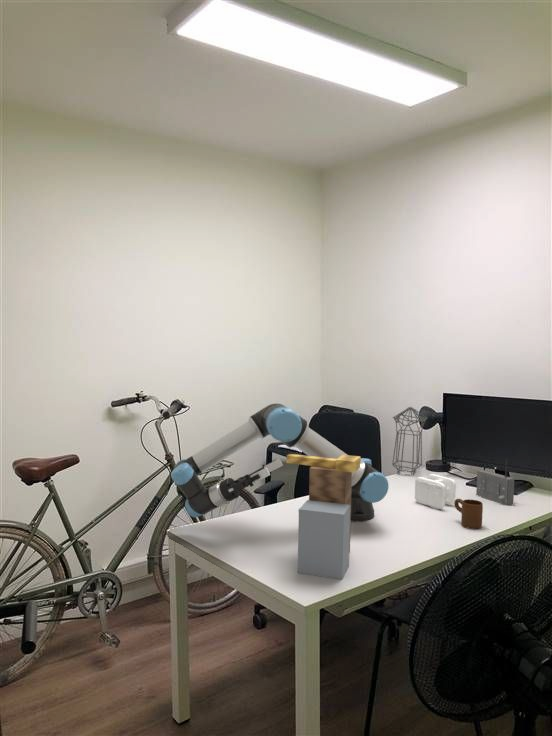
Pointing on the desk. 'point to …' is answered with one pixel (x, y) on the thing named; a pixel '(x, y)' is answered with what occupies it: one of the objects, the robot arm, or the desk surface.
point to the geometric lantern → (408, 434)
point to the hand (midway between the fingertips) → (274, 466)
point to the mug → (470, 513)
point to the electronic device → (495, 486)
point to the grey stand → (323, 539)
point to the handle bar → (327, 462)
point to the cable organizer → (435, 491)
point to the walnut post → (330, 486)
